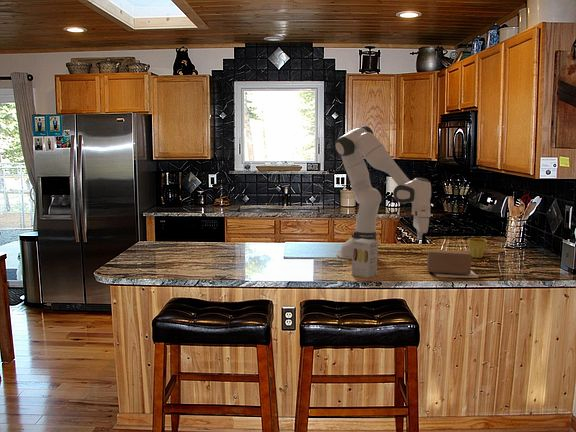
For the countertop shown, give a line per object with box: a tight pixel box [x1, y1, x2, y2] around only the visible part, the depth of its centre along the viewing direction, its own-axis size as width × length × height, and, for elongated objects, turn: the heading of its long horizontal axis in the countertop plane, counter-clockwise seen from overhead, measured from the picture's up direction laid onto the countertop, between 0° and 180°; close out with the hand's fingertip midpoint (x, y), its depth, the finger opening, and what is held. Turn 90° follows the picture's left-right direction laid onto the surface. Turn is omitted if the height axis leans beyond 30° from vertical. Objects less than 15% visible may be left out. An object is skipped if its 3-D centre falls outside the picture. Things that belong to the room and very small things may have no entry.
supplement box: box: [351, 239, 379, 279], centre depth 274 cm, size 10×9×17 cm
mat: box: [432, 270, 479, 279], centre depth 283 cm, size 20×16×1 cm
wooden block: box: [426, 249, 472, 274], centre depth 280 cm, size 10×10×20 cm
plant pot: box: [467, 237, 488, 259], centre depth 322 cm, size 10×10×10 cm
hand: (419, 239), depth 281 cm, fingers closed
